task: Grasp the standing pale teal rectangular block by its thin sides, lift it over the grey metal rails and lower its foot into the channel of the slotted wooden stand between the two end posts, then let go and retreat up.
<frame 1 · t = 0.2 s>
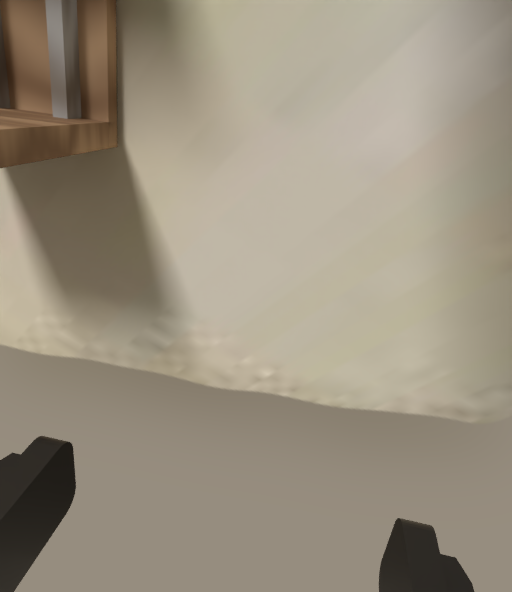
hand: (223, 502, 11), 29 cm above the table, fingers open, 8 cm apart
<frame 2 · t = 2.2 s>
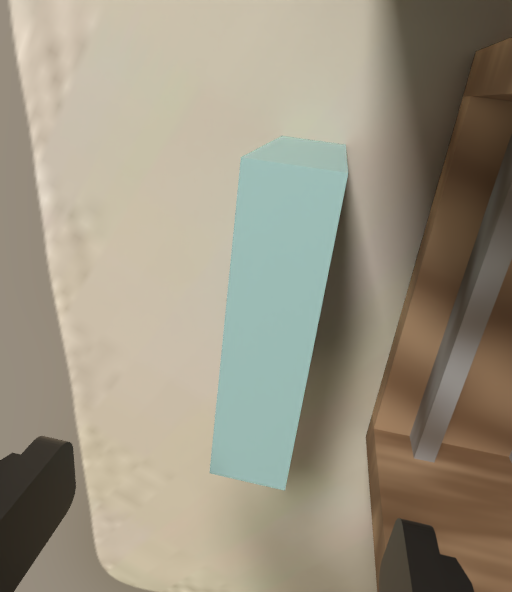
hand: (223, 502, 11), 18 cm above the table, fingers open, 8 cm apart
pale teal rectangular block: (294, 260, 27), on the table
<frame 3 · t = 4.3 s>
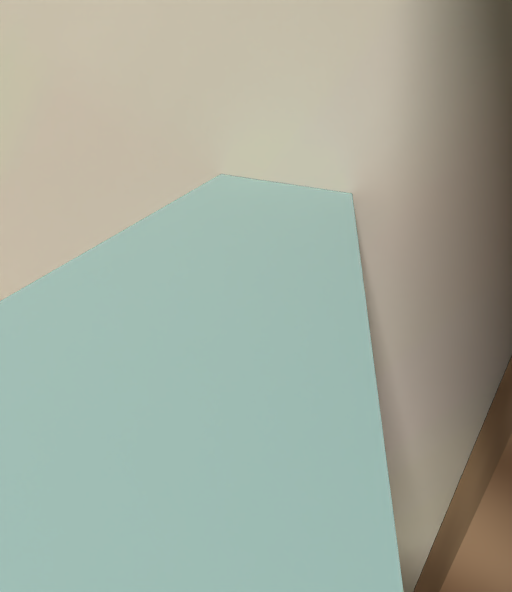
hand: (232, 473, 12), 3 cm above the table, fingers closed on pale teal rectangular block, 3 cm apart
pale teal rectangular block: (255, 398, 15), on the table, touching gripper
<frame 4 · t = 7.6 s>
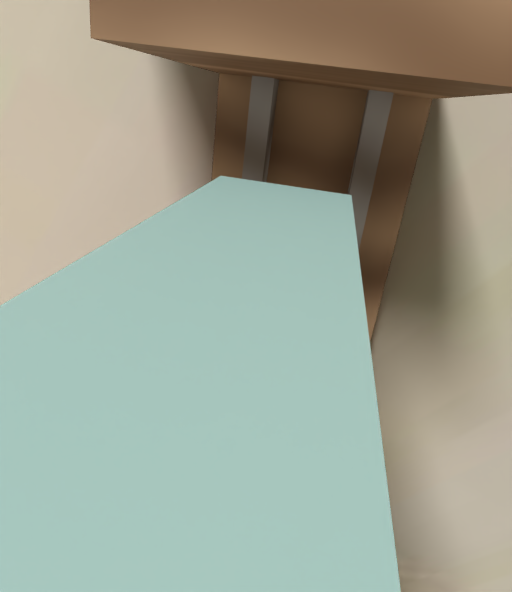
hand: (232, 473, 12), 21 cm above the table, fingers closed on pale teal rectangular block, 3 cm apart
pale teal rectangular block: (255, 399, 15), point 17 cm above the table, touching gripper
slotted wooden stand: (297, 247, 30), on the table
when the fingers open (6 cm above the table, at t = 11.3 s): pale teal rectangular block stays where it is, resting on slotted wooden stand.
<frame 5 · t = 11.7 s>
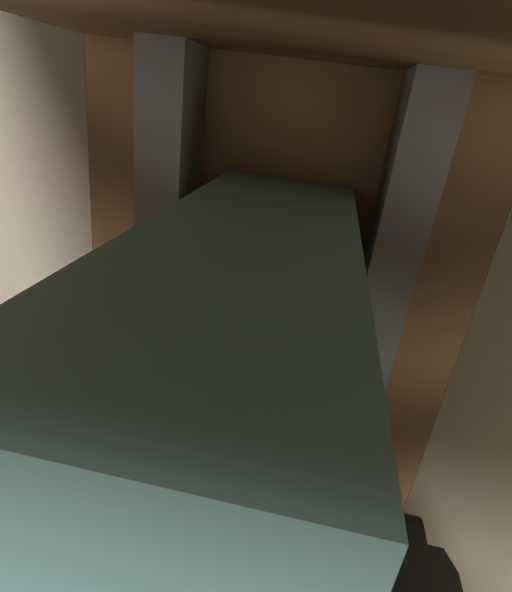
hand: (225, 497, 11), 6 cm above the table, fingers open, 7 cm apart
pale teal rectangular block: (261, 383, 15), point 1 cm above the table, touching slotted wooden stand
slotted wooden stand: (265, 360, 17), on the table
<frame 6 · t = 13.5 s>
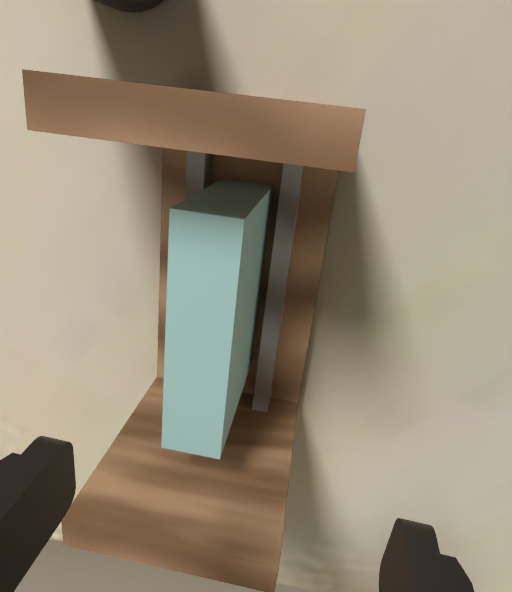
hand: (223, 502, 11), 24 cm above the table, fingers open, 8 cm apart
pale teal rectangular block: (238, 277, 33), point 1 cm above the table, touching slotted wooden stand
slotted wooden stand: (241, 270, 34), on the table
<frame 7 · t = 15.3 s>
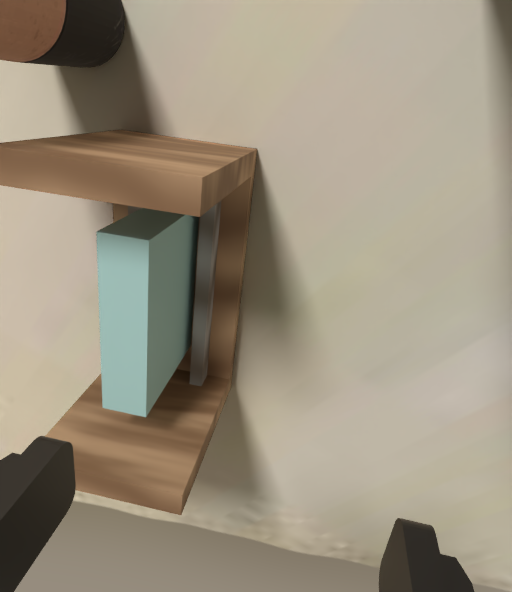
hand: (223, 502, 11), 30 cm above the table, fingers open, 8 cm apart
pale teal rectangular block: (176, 277, 41), point 1 cm above the table, touching slotted wooden stand
travel mug: (84, 17, 35), on the table
slotted wooden stand: (180, 271, 42), on the table
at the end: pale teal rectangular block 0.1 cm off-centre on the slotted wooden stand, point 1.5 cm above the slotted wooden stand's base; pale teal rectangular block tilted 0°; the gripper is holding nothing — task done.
